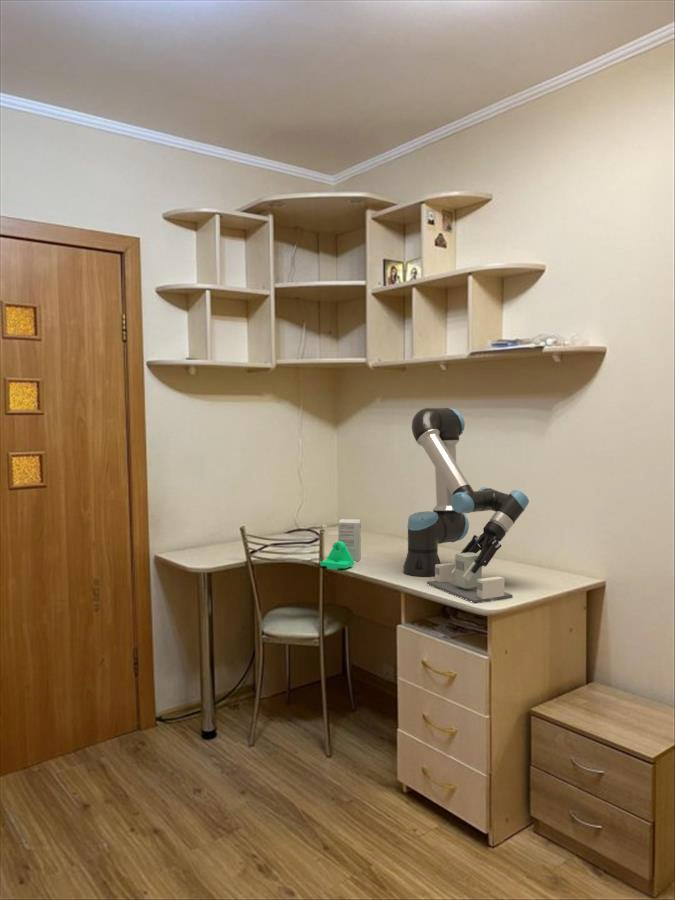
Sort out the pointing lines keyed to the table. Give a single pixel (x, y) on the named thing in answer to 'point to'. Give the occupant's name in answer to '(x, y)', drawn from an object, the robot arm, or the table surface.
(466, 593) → the rail plate
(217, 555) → the table surface
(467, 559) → the block
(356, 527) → the supplement box
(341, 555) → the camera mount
